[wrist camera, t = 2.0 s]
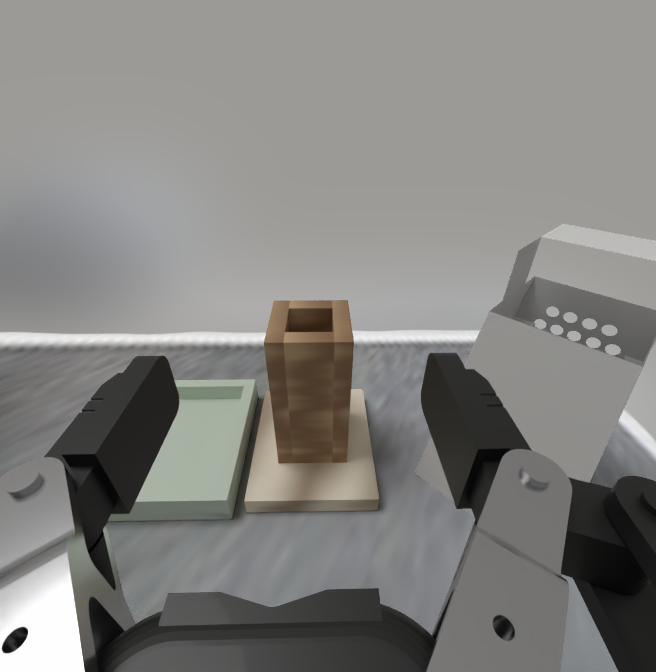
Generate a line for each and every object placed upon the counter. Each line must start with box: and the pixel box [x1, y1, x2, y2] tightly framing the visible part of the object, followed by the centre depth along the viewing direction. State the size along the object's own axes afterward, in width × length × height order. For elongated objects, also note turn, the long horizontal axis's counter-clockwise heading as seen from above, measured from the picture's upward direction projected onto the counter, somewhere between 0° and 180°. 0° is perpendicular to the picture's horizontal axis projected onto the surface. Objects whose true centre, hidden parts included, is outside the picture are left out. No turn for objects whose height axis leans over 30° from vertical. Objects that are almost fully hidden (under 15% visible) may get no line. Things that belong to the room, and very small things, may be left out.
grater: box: [414, 224, 656, 518], centre depth 24 cm, size 10×10×20 cm
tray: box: [108, 380, 258, 521], centre depth 30 cm, size 11×13×2 cm
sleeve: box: [264, 300, 354, 464], centre depth 27 cm, size 6×6×12 cm
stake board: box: [244, 389, 379, 512], centre depth 29 cm, size 10×12×8 cm
